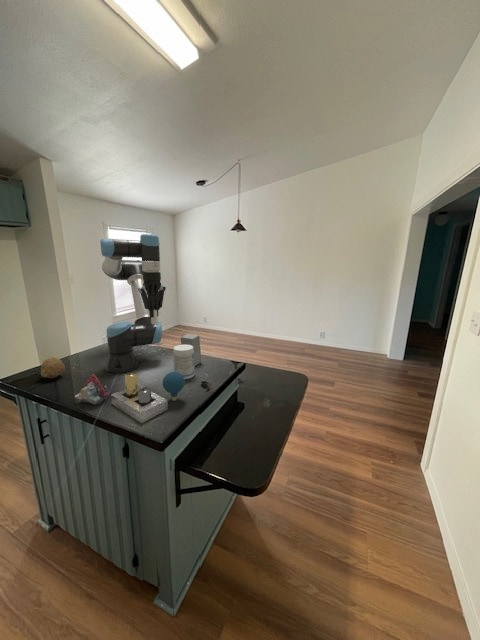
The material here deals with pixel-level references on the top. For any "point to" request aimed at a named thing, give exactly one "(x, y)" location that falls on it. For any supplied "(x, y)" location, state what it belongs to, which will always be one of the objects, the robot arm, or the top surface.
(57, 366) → the natural sponge
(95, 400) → the grey red irregular piece
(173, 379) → the light bulb
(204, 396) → the top surface
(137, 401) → the jig
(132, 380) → the brass bushing
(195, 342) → the skincare box
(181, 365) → the supplement tub
